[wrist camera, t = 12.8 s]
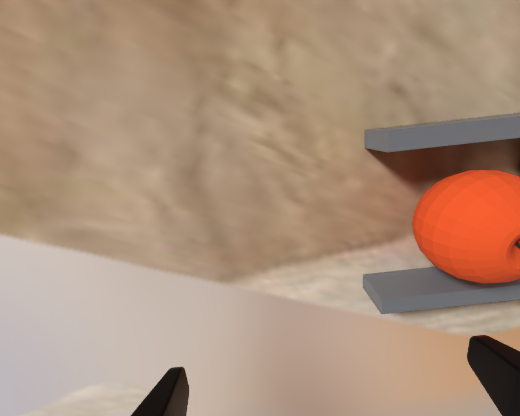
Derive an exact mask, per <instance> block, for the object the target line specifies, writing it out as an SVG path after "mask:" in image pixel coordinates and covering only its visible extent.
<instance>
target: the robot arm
mask: <svg viewBox="0 0 520 416" xmlns="http://www.w3.org/2000/svg"><path fill="white" fill-rule="evenodd" d="M467 359H468V362H469V365H470V366H471V368H472V370H473V371H474V372H475V374H476V376H477V377H478V379H479V380H480V382H481V383H482V385H483V386H484V388H485V390H486V391H487V393H488V394H489V396H490V397H491V399H492V400H493V402H494V404H495V405H496V407H497V408H498V410H499V411H500V413H501V414H502V416H520V351H518V350H516V349H513V348H511V347H509V346H507V345H505V344H503V343H501V342H499V341H497V340H495V339H493V338H491V337H489V336H486V335H479V336H472V337H471V338H470V341H469V347H468V353H467ZM188 397H189V385H188V381H187V377H186V373H185V369H184V368H183V367H174V368H171V369H169V370H168V371H167V373H166V374H165V375H164V376H163V377H162V379H161V380H160V381H159V382H158V383H157V385H156V386H155V387H154V388H153V389H152V391H151V392H150V393H149V394H148V395H147V397H146V398H145V399H144V400H143V401H142V403H141V404H140V405H139V406H138V407H137V409H136V410H135V411H134V412H133V414H132V415H131V416H186V412H187V405H188Z"/></svg>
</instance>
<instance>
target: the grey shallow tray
mask: <svg viewBox="0 0 520 416" xmlns="http://www.w3.org/2000/svg"><path fill="white" fill-rule="evenodd" d="M513 138H520V113H514V114H505V115H496V116H487V117H478V118H469V119H460V120H451V121H442V122H433V123H424V124H415V125H406V126H397V127H388V128H379V129H370V130H365V148H367V149H373V150H378V151H383V152H395V151H404V150H413V149H422V148H431V147H440V146H449V145H458V144H468V143H477V142H486V141H495V140H504V139H513ZM363 288H364V290H365V291H366V292H367V294H368V295H369V297H370V298H371V300H372V301H373V303H374V304H375V306H376V307H377V309H378V310H379V311H380V313H381V314H388V313H397V312H407V311H416V310H426V309H435V308H445V307H454V306H464V305H473V304H483V303H492V302H501V301H511V300H520V279H518V280H514V281H510V282H501V283H485V284H483V283H478V282H473V281H468V280H464V279H459V278H457V277H455V276H453V275H451V274H449V273H447V272H445V271H443V270H441V269H440V268H438V267H430V268H421V269H412V270H402V271H393V272H384V273H374V274H365V275H363Z"/></svg>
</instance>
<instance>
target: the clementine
mask: <svg viewBox="0 0 520 416" xmlns="http://www.w3.org/2000/svg"><path fill="white" fill-rule="evenodd" d="M412 225H413V232H414V236H415V239H416V242H417V244H418V246H419V248H420V250H421V251H422V252H423V254H424V255H425V256H426V257H427V258H428V259H429V260H430V261H431V262H432V263H433V264H434V265H435V266H436V267H438V268H440V269H441V270H443V271H445V272H447V273H449V274H451V275H453V276H455V277H457V278H459V279H464V280H468V281H473V282H478V283H483V284H485V283H501V282H510V281H514V280H518V279H520V177H519V176H517V175H514V174H511V173H507V172H503V171H498V170H469V171H465V172H462V173H459V174H455V175H452V176H448V177H446V178H444V179H442V180H441V181H439V182H437V183H435V184H434V185H433V186H432V187H431V188H430V189H429V190H428V191H426V193H425V194H424V195H423V197H422V198H421V199H420V201H419V202H418V205H417V207H416V209H415V212H414V216H413V223H412Z"/></svg>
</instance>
